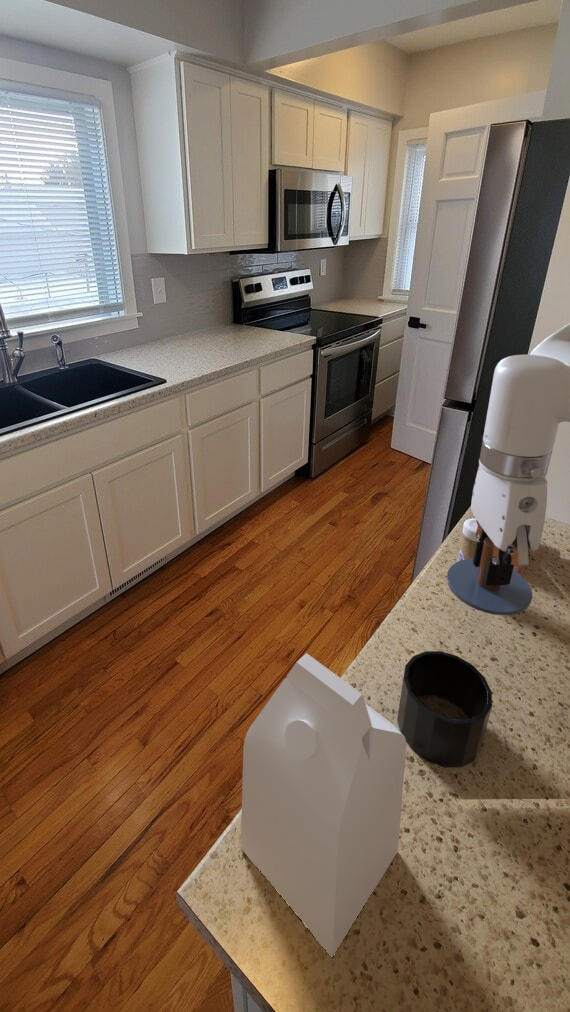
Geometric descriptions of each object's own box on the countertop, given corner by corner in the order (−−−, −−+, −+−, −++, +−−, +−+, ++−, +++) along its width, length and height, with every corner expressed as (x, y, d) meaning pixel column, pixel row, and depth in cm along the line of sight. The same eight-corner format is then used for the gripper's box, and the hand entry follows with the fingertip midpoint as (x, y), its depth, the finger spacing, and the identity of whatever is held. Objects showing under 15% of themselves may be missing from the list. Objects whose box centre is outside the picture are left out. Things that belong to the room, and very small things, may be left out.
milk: (397, 851, 51) (428, 678, 40) (332, 959, 44) (348, 783, 33) (308, 768, 59) (314, 605, 48) (240, 848, 52) (229, 676, 41)
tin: (461, 695, 67) (471, 650, 64) (494, 770, 58) (507, 723, 55) (389, 695, 68) (394, 651, 64) (410, 770, 58) (418, 723, 55)
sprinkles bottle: (447, 581, 88) (458, 519, 82) (469, 577, 89) (481, 515, 83) (463, 599, 84) (476, 535, 78) (486, 594, 85) (500, 530, 79)
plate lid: (507, 563, 73) (517, 518, 70) (547, 617, 63) (560, 568, 60) (435, 565, 74) (441, 520, 70) (463, 620, 64) (472, 570, 60)
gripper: (586, 490, 52) (550, 618, 60) (512, 428, 67) (491, 537, 75) (515, 492, 52) (489, 620, 60) (457, 430, 67) (442, 539, 75)
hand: (490, 573), depth 67 cm, fingers closed on plate lid, 3 cm apart
